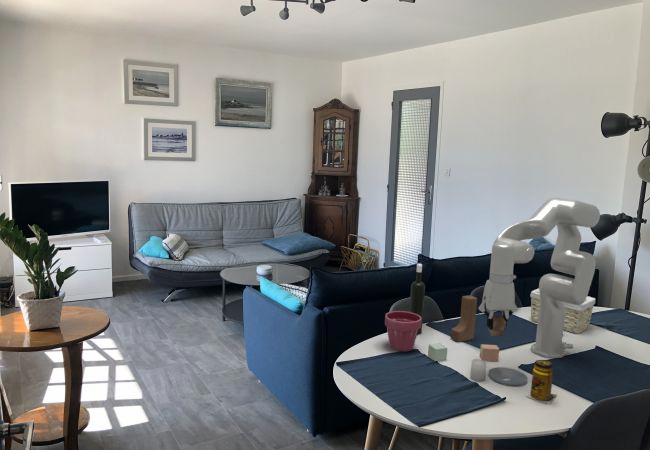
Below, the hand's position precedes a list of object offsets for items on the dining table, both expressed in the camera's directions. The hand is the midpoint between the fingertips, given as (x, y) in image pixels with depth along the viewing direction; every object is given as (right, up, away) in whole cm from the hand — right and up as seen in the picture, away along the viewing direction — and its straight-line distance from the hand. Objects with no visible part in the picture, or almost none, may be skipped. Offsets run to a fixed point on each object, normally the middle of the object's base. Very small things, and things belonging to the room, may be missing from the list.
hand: (496, 327), depth 186 cm
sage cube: (-18, -14, +14) cm, 27 cm away
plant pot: (-30, -12, +23) cm, 40 cm away
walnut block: (0, -2, +1) cm, 2 cm away
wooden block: (-3, -12, +34) cm, 36 cm away
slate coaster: (+4, -17, -1) cm, 18 cm away
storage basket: (+48, -10, +57) cm, 75 cm away
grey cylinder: (-7, -17, -2) cm, 19 cm away
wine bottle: (-22, -10, +40) cm, 47 cm away
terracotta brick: (+2, -15, +15) cm, 21 cm away
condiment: (+10, -20, -13) cm, 26 cm away
